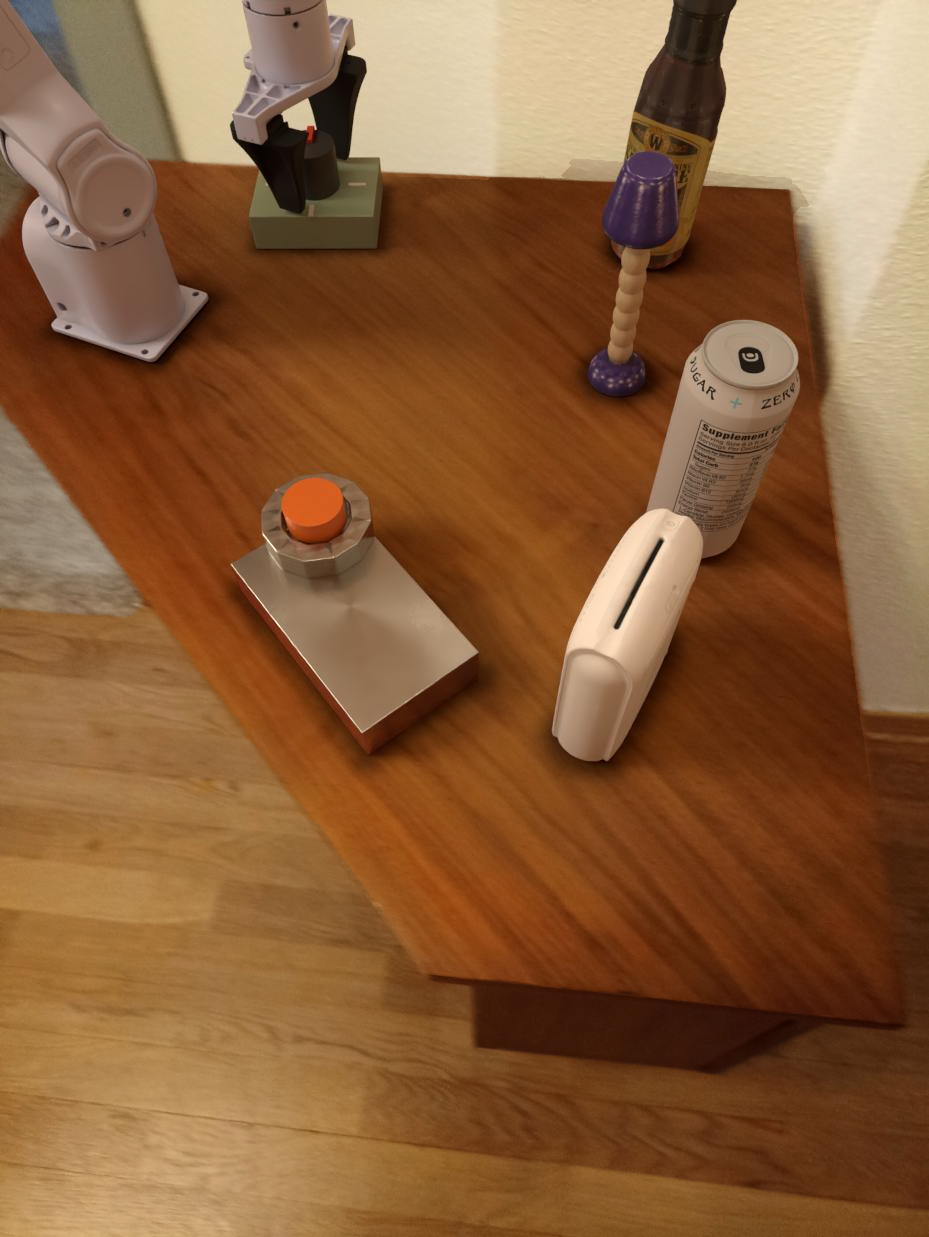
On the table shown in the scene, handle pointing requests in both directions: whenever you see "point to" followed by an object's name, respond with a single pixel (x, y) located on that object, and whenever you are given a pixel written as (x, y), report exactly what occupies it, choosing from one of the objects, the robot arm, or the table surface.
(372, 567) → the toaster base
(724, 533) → the energy drink can
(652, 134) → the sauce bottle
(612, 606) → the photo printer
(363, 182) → the panel
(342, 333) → the table surface
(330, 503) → the button
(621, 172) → the toy lamp
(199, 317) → the table surface
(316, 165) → the knob
